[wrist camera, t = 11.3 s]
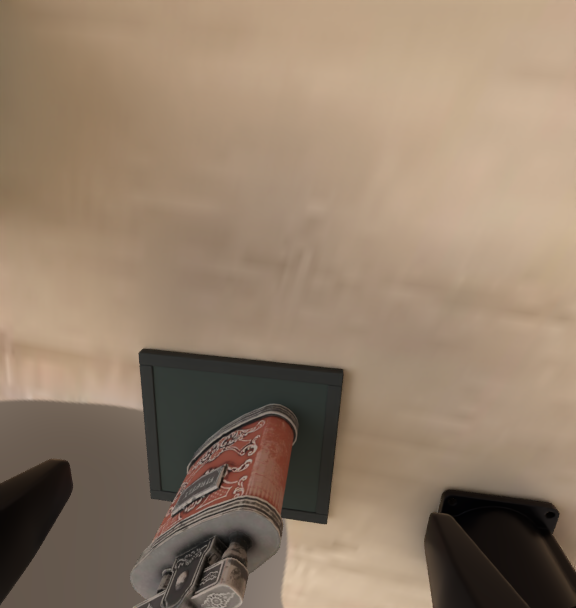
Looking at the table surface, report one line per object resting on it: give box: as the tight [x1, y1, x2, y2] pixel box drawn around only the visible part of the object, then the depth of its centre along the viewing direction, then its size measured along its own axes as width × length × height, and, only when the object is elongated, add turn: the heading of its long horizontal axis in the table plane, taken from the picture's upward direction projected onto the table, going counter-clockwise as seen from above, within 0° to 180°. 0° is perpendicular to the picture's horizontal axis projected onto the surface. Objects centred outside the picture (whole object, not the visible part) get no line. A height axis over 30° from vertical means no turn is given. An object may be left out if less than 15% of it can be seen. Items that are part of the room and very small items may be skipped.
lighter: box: [130, 404, 299, 608], centre depth 18 cm, size 8×3×10 cm, turn 130°
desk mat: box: [139, 349, 343, 524], centre depth 23 cm, size 12×11×1 cm
